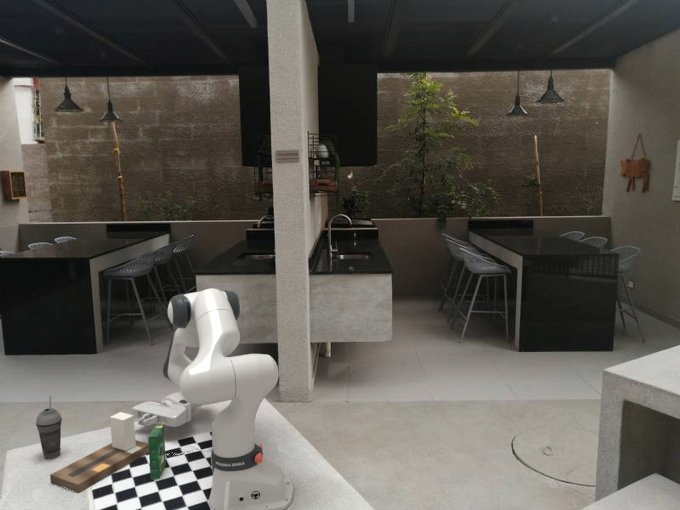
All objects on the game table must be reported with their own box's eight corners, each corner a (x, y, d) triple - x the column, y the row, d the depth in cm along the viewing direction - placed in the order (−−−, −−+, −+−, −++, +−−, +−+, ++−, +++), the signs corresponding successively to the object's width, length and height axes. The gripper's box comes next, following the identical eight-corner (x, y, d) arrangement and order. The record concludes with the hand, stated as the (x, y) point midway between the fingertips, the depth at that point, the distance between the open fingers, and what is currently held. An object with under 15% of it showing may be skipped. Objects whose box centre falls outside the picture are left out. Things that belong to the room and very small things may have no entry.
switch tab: (122, 441, 172) (120, 412, 171) (135, 445, 170) (133, 415, 168) (112, 447, 169) (109, 416, 168) (125, 450, 166) (123, 420, 165)
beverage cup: (47, 450, 173) (42, 391, 171) (69, 450, 173) (64, 391, 170) (34, 461, 166) (28, 400, 164) (56, 461, 166) (51, 400, 163)
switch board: (124, 443, 177) (123, 436, 176) (150, 451, 171) (150, 443, 171) (50, 482, 154) (50, 474, 153) (78, 493, 148) (77, 484, 148)
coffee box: (157, 465, 162) (154, 424, 161) (166, 465, 162) (164, 424, 161) (149, 480, 154) (146, 436, 153) (160, 479, 154) (157, 436, 153)
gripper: (150, 394, 191) (118, 408, 179) (193, 403, 182) (163, 419, 170) (151, 411, 192) (119, 426, 180) (194, 421, 183) (164, 438, 171)
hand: (141, 423), depth 175 cm, fingers closed
